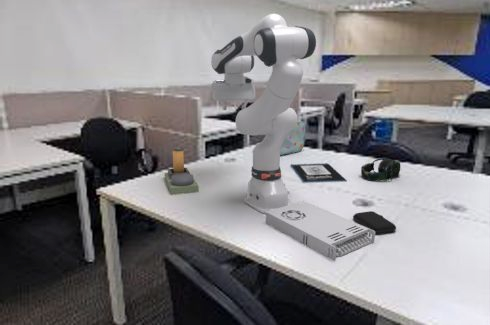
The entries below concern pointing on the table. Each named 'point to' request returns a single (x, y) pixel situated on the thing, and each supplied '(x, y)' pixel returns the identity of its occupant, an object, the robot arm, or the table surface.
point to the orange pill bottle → (178, 159)
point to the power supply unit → (320, 229)
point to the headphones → (381, 170)
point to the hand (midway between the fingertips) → (234, 109)
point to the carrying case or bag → (374, 222)
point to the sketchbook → (317, 173)
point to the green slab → (181, 182)
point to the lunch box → (294, 139)
